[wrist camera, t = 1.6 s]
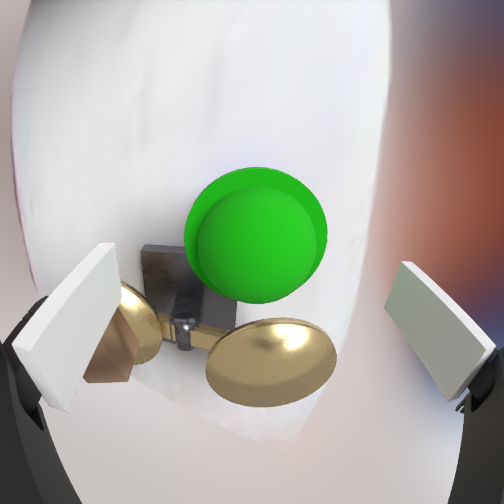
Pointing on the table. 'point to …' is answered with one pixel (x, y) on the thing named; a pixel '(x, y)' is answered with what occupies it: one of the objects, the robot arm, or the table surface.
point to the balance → (224, 335)
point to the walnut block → (113, 353)
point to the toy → (255, 235)
